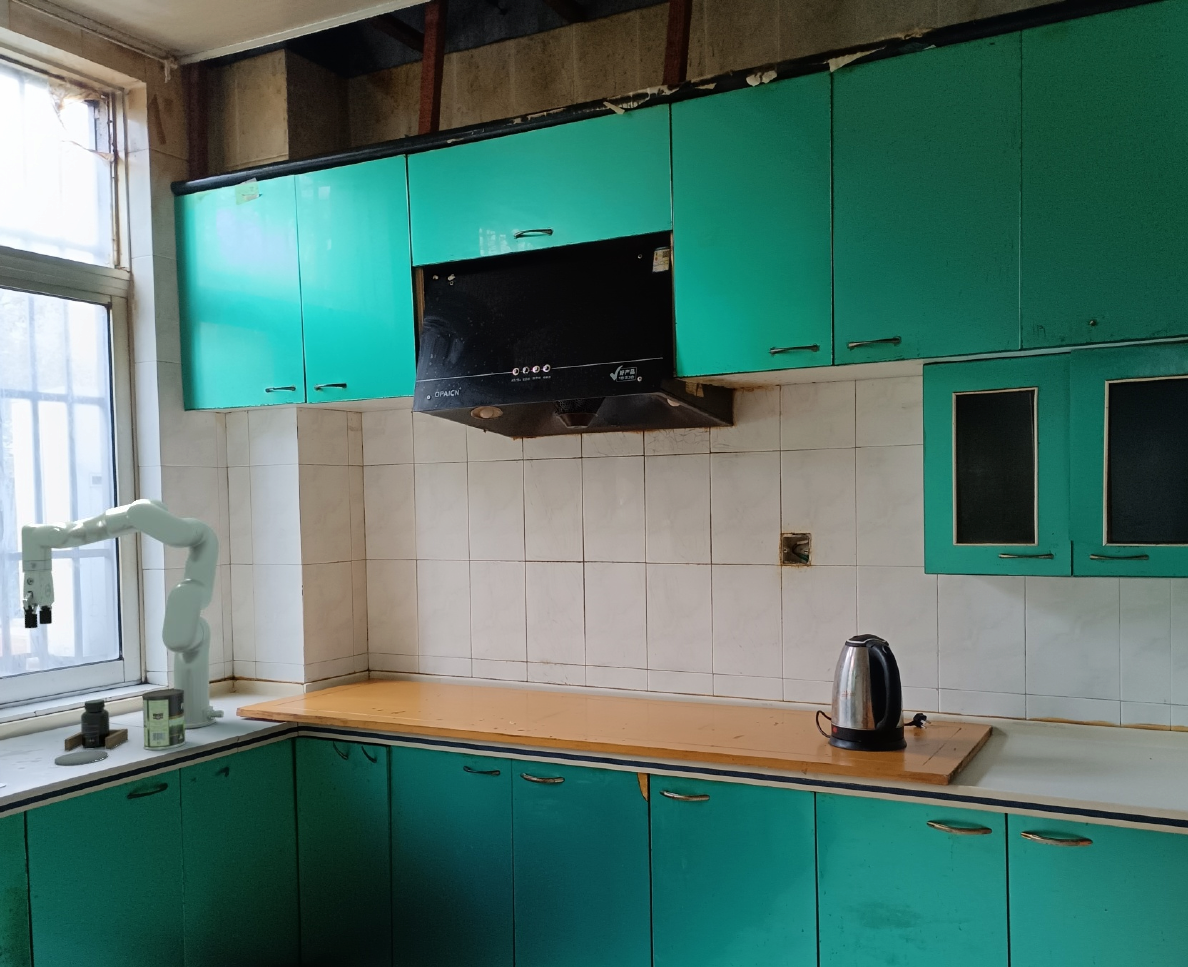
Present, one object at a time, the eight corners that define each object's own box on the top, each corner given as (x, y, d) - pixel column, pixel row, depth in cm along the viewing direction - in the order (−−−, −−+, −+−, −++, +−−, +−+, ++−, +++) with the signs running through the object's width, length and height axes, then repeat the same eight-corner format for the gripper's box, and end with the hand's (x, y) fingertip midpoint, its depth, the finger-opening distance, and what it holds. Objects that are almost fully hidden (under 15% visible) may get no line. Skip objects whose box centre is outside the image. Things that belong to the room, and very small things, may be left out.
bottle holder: (127, 739, 273) (127, 728, 273) (109, 749, 263) (109, 738, 263) (84, 741, 273) (84, 730, 273) (64, 751, 263) (64, 739, 263)
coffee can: (181, 738, 273) (180, 687, 273) (188, 746, 264) (187, 692, 264) (140, 744, 267) (139, 692, 268) (146, 752, 259) (145, 697, 259)
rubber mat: (116, 752, 260) (116, 750, 260) (93, 764, 248) (93, 762, 248) (69, 753, 259) (69, 751, 259) (45, 766, 247) (45, 763, 247)
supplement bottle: (88, 743, 270) (87, 699, 271) (114, 742, 271) (113, 697, 271) (77, 749, 264) (76, 704, 264) (103, 748, 264) (102, 703, 264)
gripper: (38, 568, 280) (39, 629, 280) (63, 564, 298) (64, 621, 297) (9, 569, 280) (11, 630, 279) (36, 565, 297) (37, 623, 296)
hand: (38, 625), depth 288 cm, fingers open, 9 cm apart
